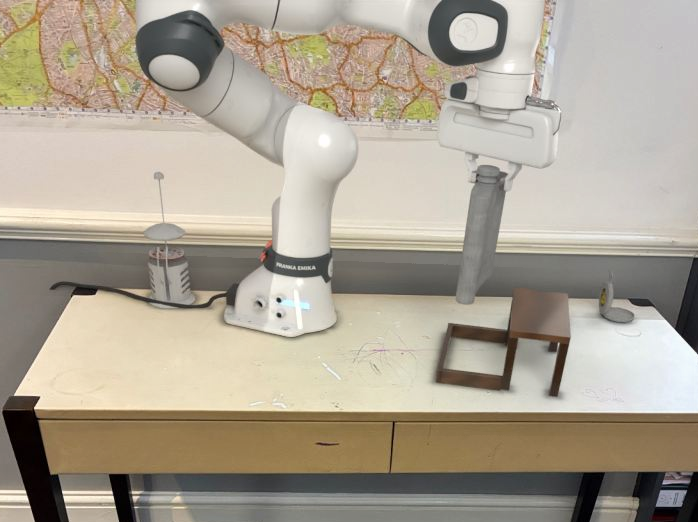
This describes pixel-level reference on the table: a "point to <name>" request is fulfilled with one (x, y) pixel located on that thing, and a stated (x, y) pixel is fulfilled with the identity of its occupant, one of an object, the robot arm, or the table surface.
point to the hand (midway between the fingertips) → (489, 186)
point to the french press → (168, 264)
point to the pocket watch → (606, 302)
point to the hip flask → (480, 232)
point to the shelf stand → (515, 338)
